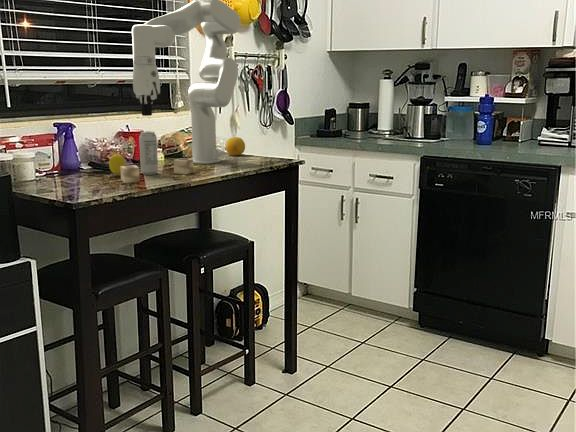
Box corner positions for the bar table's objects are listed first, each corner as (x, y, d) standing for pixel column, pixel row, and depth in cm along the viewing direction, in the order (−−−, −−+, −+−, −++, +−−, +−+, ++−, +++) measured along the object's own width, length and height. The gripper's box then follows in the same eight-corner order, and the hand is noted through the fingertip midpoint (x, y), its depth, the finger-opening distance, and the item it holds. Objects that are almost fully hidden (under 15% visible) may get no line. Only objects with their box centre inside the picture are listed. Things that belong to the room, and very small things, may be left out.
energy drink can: (154, 171, 230) (152, 130, 226) (160, 174, 225) (159, 132, 221) (138, 173, 226) (136, 131, 223) (144, 175, 221) (142, 133, 218)
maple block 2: (182, 171, 232) (181, 157, 230) (193, 172, 229) (193, 158, 228) (174, 173, 227) (173, 159, 226) (185, 174, 225) (184, 160, 224)
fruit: (221, 155, 271) (221, 137, 269) (234, 153, 277) (234, 135, 275) (236, 157, 265) (235, 138, 263) (249, 155, 271) (249, 137, 269)
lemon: (120, 173, 225) (119, 151, 223) (128, 175, 221) (127, 153, 220) (106, 175, 222) (105, 152, 220) (114, 177, 218) (113, 154, 216)
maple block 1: (135, 179, 215) (134, 164, 214) (139, 182, 211) (138, 166, 209) (121, 180, 213) (120, 165, 211) (124, 183, 208) (123, 167, 207)
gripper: (166, 62, 214) (168, 116, 218) (140, 61, 224) (143, 113, 228) (148, 62, 209) (151, 117, 213) (122, 61, 218) (125, 114, 223)
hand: (147, 115), depth 221 cm, fingers closed
